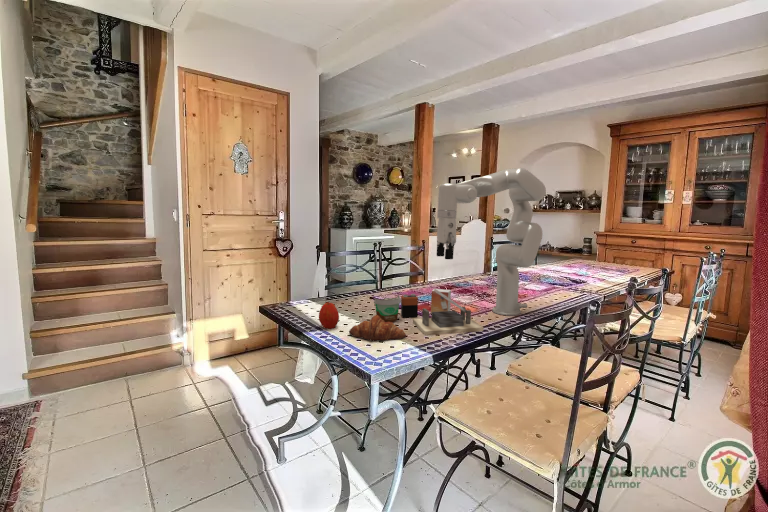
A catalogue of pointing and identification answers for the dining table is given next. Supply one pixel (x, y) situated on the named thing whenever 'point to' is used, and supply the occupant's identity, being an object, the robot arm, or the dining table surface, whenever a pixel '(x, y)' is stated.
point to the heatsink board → (446, 322)
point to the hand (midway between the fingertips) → (444, 257)
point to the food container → (387, 308)
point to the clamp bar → (450, 300)
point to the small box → (440, 301)
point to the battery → (409, 306)
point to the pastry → (377, 330)
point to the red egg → (328, 316)
